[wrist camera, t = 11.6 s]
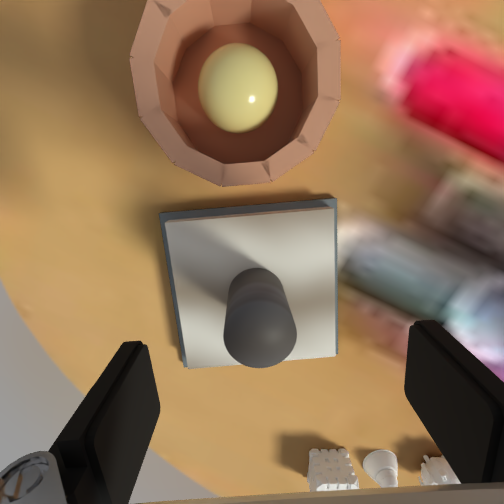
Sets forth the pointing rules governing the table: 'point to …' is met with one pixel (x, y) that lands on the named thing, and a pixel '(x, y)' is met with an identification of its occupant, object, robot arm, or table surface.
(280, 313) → the lid
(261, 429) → the table surface
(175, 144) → the bowl
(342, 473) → the game pieces
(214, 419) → the table surface
